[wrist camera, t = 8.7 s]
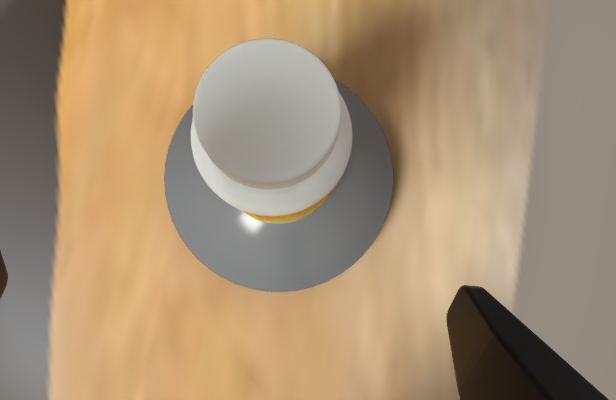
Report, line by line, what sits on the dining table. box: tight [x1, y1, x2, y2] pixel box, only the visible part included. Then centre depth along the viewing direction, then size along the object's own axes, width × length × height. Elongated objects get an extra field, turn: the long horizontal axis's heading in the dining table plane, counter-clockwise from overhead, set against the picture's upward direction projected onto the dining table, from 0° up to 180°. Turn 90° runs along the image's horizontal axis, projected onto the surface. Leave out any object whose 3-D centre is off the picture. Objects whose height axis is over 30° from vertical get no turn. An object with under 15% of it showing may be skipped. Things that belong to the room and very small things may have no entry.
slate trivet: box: [164, 80, 393, 292], centre depth 22 cm, size 11×11×1 cm
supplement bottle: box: [191, 39, 352, 224], centre depth 16 cm, size 5×5×10 cm
